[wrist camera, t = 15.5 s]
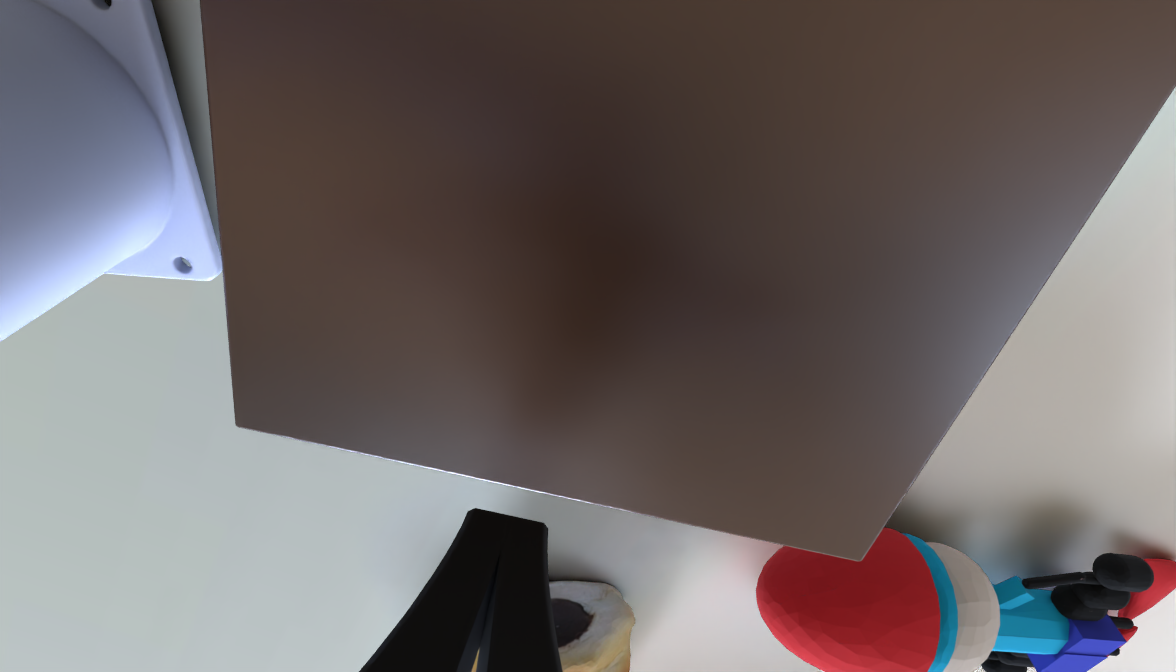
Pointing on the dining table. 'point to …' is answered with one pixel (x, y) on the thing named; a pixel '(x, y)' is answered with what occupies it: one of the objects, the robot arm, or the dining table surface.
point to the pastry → (590, 627)
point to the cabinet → (658, 232)
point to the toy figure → (951, 609)
